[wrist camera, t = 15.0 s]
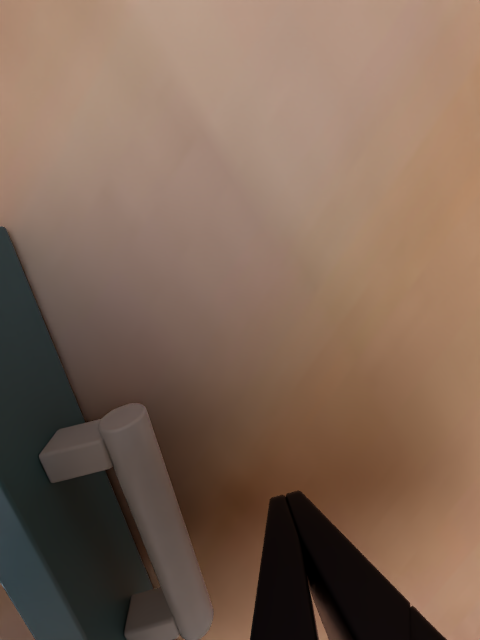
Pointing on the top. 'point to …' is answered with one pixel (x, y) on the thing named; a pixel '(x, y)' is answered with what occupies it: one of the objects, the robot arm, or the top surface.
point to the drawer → (83, 500)
